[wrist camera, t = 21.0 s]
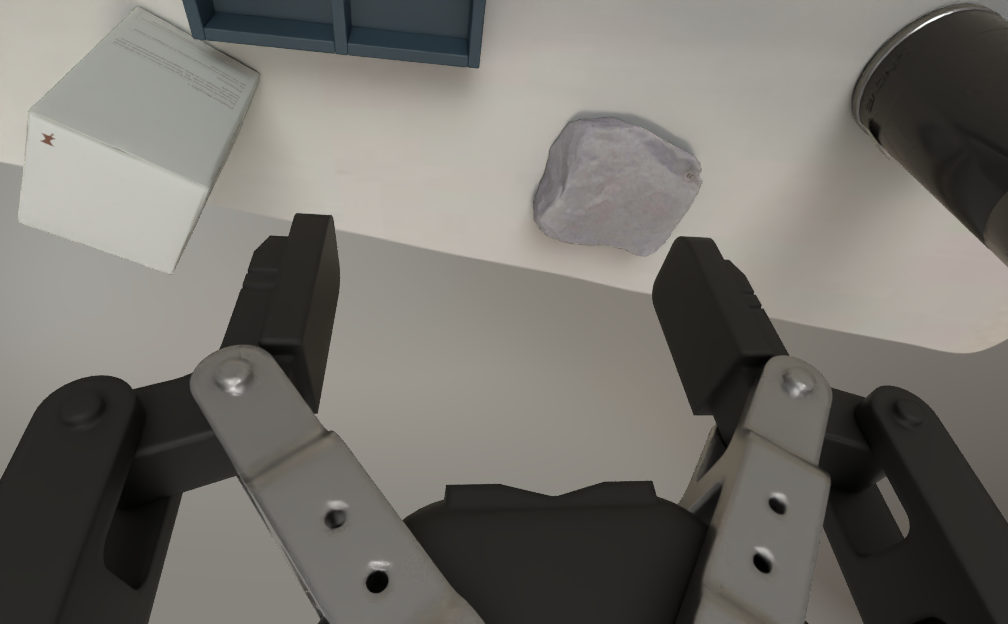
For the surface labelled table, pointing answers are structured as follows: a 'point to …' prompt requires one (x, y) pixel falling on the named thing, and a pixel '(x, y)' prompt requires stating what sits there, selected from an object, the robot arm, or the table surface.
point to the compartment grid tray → (349, 27)
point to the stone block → (615, 186)
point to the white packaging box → (134, 141)
